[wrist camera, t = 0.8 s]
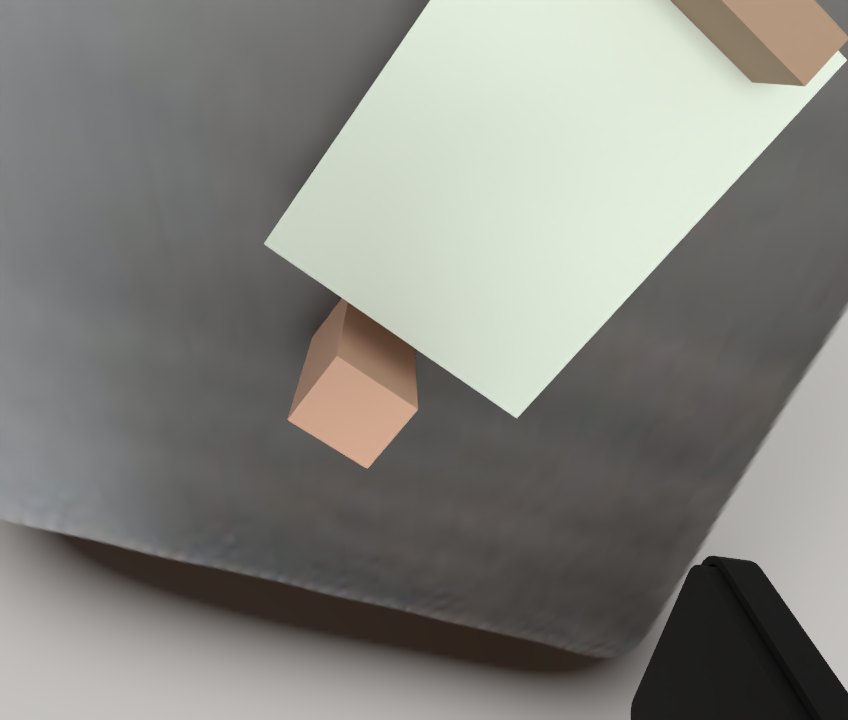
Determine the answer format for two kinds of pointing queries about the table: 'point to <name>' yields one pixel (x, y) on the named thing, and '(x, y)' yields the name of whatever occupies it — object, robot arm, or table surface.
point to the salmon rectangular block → (355, 385)
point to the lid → (544, 167)
